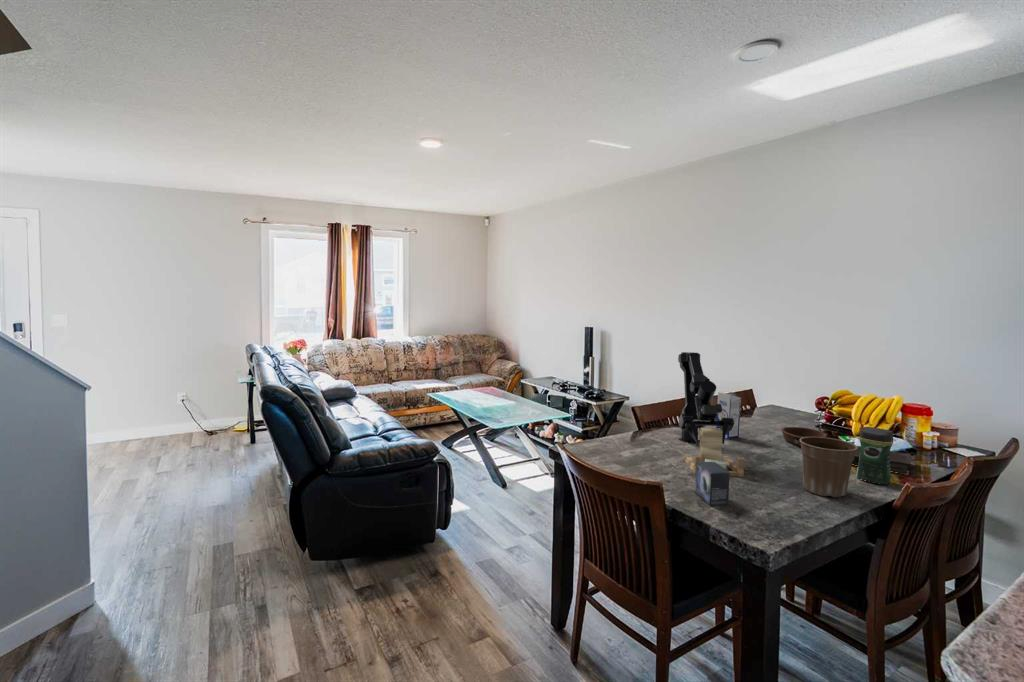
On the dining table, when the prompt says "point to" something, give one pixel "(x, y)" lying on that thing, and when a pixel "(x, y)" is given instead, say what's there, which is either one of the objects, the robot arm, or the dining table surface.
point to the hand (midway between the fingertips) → (710, 443)
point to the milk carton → (730, 411)
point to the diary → (891, 460)
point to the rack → (737, 469)
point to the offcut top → (718, 462)
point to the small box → (712, 483)
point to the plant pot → (826, 465)
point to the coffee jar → (875, 455)
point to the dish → (799, 434)
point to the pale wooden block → (710, 444)
